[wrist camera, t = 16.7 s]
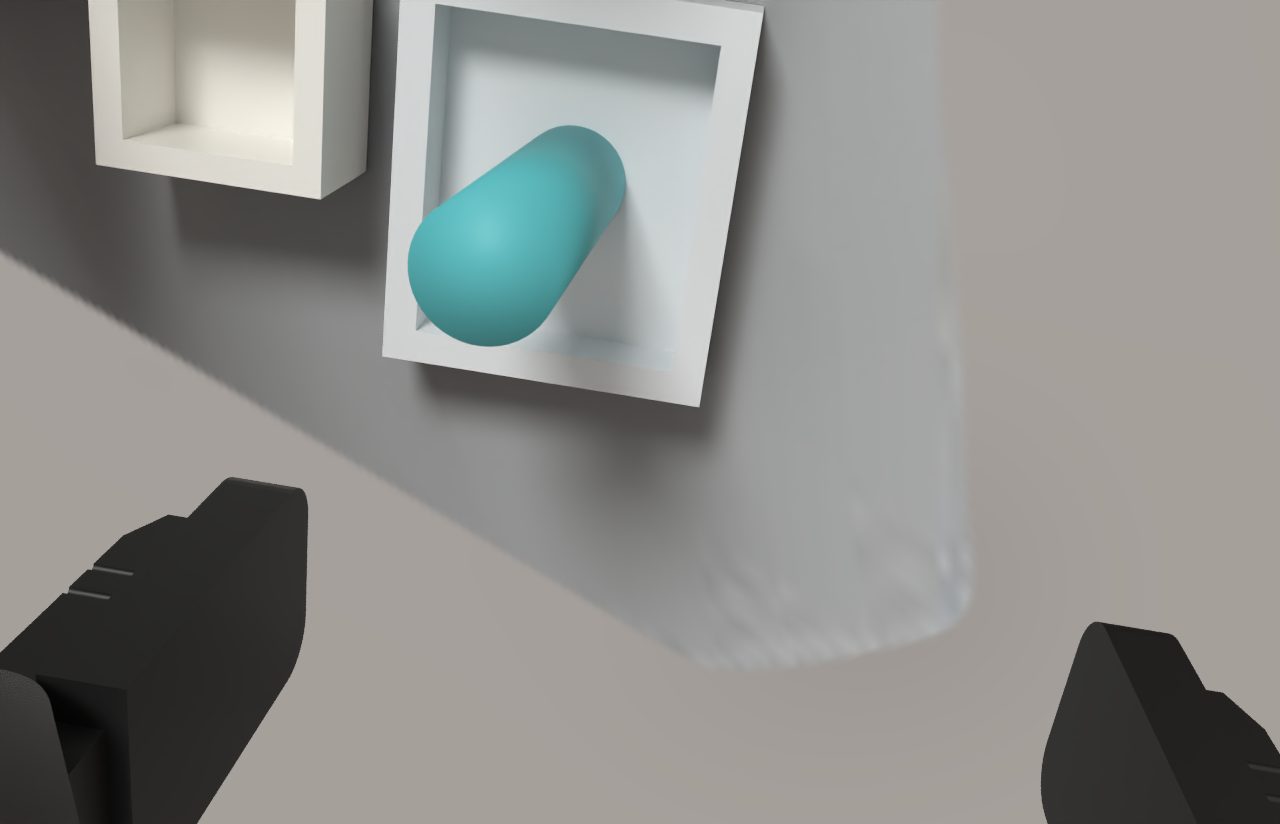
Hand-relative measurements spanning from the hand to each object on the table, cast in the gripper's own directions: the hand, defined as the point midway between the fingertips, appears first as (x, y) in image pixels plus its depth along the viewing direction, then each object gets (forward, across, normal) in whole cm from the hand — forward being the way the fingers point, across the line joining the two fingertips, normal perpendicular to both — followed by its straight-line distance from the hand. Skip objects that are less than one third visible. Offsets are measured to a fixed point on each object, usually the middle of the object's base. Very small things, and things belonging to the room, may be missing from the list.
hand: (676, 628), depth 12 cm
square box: (+34, +18, 0) cm, 38 cm away
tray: (+34, +6, +3) cm, 35 cm away
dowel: (+33, +6, +3) cm, 33 cm away
